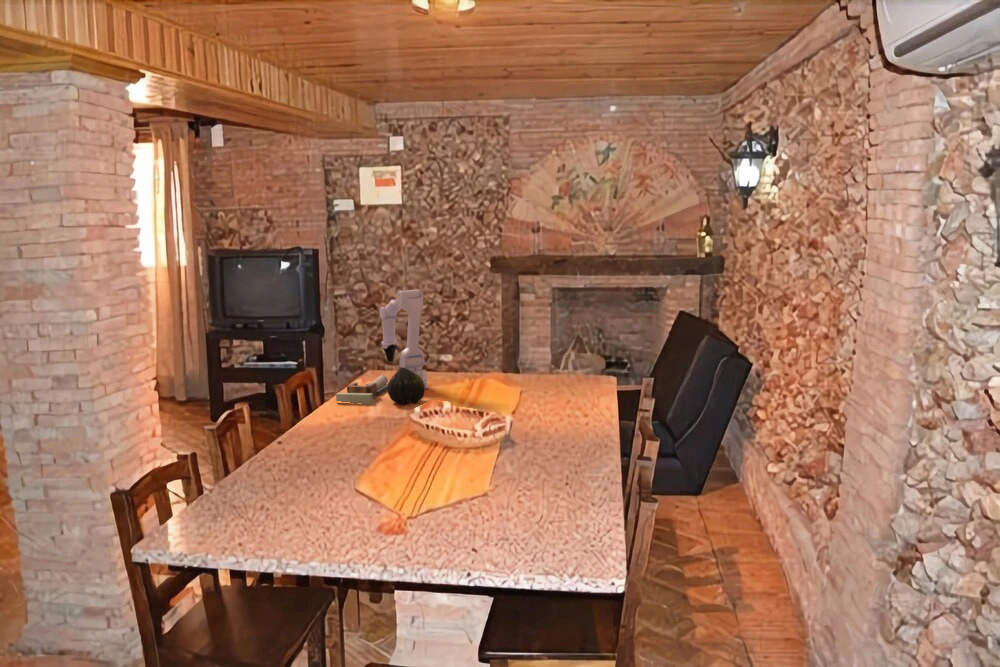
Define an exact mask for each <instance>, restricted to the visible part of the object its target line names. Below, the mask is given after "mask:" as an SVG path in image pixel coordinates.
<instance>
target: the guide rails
mask: <svg viewBox="0 0 1000 667" xmlns="http://www.w3.org/2000/svg"><path fill="white" fill-rule="evenodd" d="M373 381H374V380H373ZM373 381H371V382H373ZM371 382H369V383H367V384H365V385H364V386H367V385H369V384H370V383H371ZM387 390H388V383H387V384H385V385H384V386H383V387H382V388H380V389H378V390H377V397H379V395H380V396H381V395H383V394H384V393H386V392H388V391H387ZM382 393H383V394H382Z"/></svg>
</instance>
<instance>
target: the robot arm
mask: <svg viewBox="0 0 1000 667" xmlns="http://www.w3.org/2000/svg"><path fill="white" fill-rule="evenodd" d="M423 307H424V295H423V292H422V291H421V289H420V288H417V289H409V290H408V289H407V290H406V289H405V290H399V291H398V292H397V296H396V298H395V299H391V300H390V301H389V302H388V303H387V304H386V305H385V306H381V307H380V308H379V317H380V319H381V321H382V323H381V325H382V339H383V340H382V341H381V342H380V344H381V348H382V350H383V351H384V354H385V356H386V360H387V362H389V363H390V362H393V361H394V358H395V353H396V349H397V347H398V345H396V344H398V339H396V323H397V314H398V313H399V312H400V311H401V309H402V310H403V311H404V312H407V314H408V315H407V329H406V330H407V331H406V332H407V333H406V334H407V335H406V347H405V348H404V349H403V350H402V351H401V352H400V358H399V366H400V368H402V367H403V368H406V369H408V370H410V371H412V372H414V373H415V374H417V375H418V376H420V377H421V379H422V380H423V382H424V385H425V388H426V389H427V388H428V387H429V386H428V378H427V377H428V376H427V370H425V369H423V367H424V365H425V362H426V361H425V356H424V355H425V354H424V351H423V350H422V349H420V348H419V341H420V326H421V325H420V324H421V311H422V310H423Z"/></svg>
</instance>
